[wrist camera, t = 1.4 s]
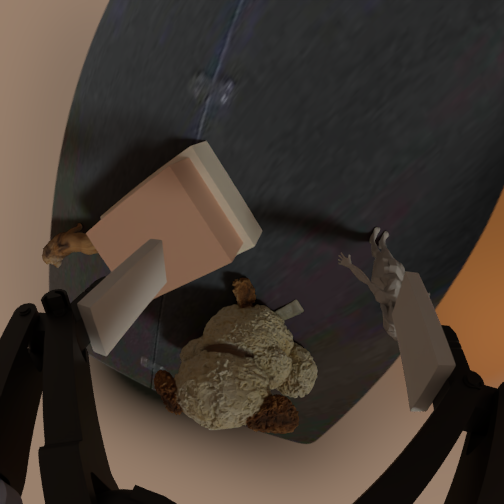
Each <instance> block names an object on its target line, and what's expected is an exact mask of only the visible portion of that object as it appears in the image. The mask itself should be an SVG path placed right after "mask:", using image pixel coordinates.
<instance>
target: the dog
mask: <svg viewBox="0 0 504 504" xmlns="http://www.w3.org/2000/svg"><path fill="white" fill-rule="evenodd" d="M232 285H233V286H235V288H234V290H233V291H232V292H233V293H234V294H235V295H234V296H235V297H236V298H237V300H236V301H238V302H237V304H238V305H237V304H233V305H232V306H227V307H223V309H221V310H219V312H218V313H217V314H216V315H215V316H213V317H211V319H210V321H208V323H207V324H206V327H205V328H204V332H203V336H201V337H199V339H198V338H197V339H194V340H191V341H189V343H188V344H187V345H185V346H184V347H183V348H182V350H181V353H180V358H181V361H182V364H181V365H180V368H179V372H178V374H175V378H173V377H172V376H171V374H170V373H169V372H166V370H164V371H162V370H159V371H158V372H157V373H156V375H155V378H154V385H155V389H156V391H157V393H158V394H160V395H161V399H162V400H163V401H164V404H165V405H167V406H166V409H167V410H168V411H169V412H171V413H173V412H174V413H175V414H176V415H177V413H178V414H179V415H180V413H181V412H184V413H185V414H186V415H187V416H189V417H190V418H193V420H194V421H196V422H197V423H199V424H200V425H201V426H204V427H206V428H208V429H209V430H219V429H227V428H234V427H241V426H242V425H247V426H248V428H250V429H252V430H254V431H258V430H260V431H261V432H268V433H269V432H272V433H280V434H285V433H288V432H293V431H294V429H295V428H296V427H297V426H298V425H299V423H298V421H299V416H298V411H296V408H295V407H294V405H292V403H291V401H290V400H289V399H288V398H287V397H285V396H282V395H273V396H272V394H271V389H274V388H276V389H277V390H278V391H280V392H281V393H282V394H283V395H288V396H290V397H294V398H297V397H298V395H299V396H300V397H304V396H305V395H306V394H308V393H310V391H311V389H312V387H313V385H314V383H315V379H316V378H317V375H316V374H317V372H318V371H317V366H316V365H315V362H314V361H313V357H312V356H310V353H309V351H307V350H306V349H304V348H303V347H302V346H300V345H298V344H297V343H295V342H293V339H292V338H293V336H292V334H291V332H289V329H287V327H286V326H285V325H284V323H285V322H284V320H286V319H288V318H292V317H293V316H296V315H298V314H300V313H302V312H304V310H303V308H302V307H301V305H300V304H299V302H298V301H297V300H294V301H293V302H291V303H290V304H288V305H286V306H284V307H282V308H281V309H279V310H277V311H275V312H273V311H272V310H270V309H269V308H268V307H266V306H265V305H261V306H260V305H258V304H256V305H255V306H253V305H252V303H255V300H256V298H255V297H256V295H255V288H253V285H252V284H251V282H250V280H249V279H248V278H240V280H239V281H238V279H237V280H236V279H235V281H233V284H232Z"/></svg>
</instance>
